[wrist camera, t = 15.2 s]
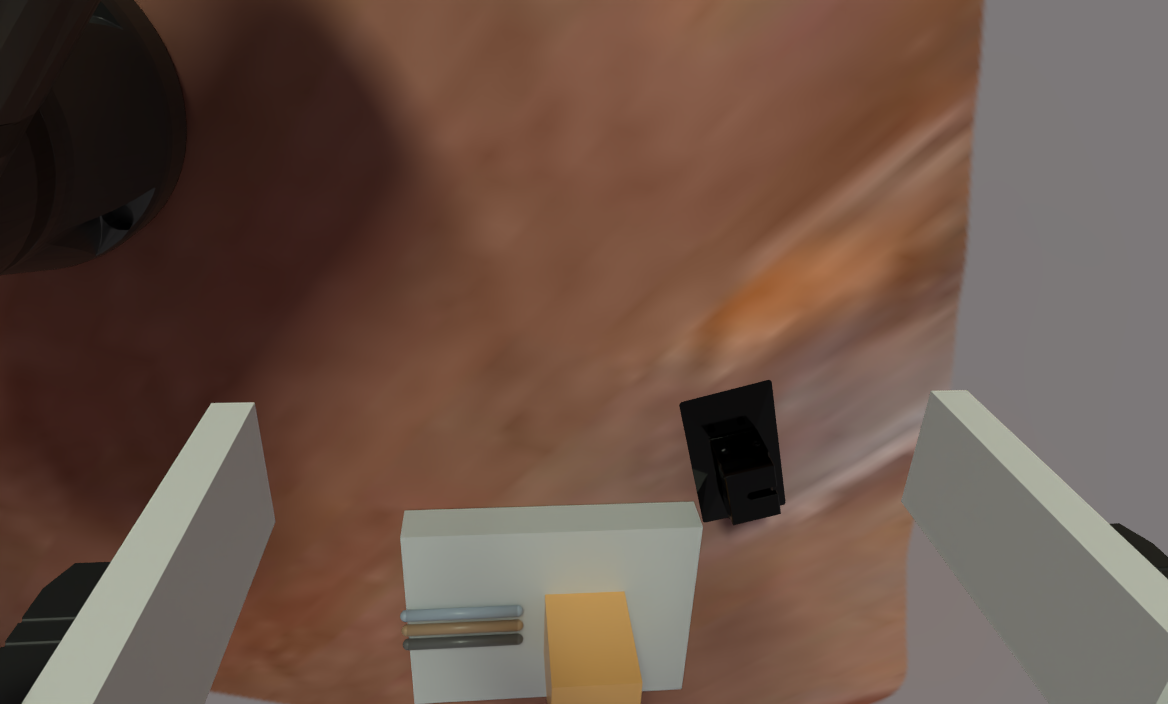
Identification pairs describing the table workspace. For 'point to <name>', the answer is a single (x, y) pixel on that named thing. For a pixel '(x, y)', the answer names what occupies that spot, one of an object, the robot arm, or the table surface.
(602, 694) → the cardboard-colored cube
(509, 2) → the table surface
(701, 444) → the black power adapter
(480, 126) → the table surface
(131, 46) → the robot arm
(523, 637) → the junction plate
